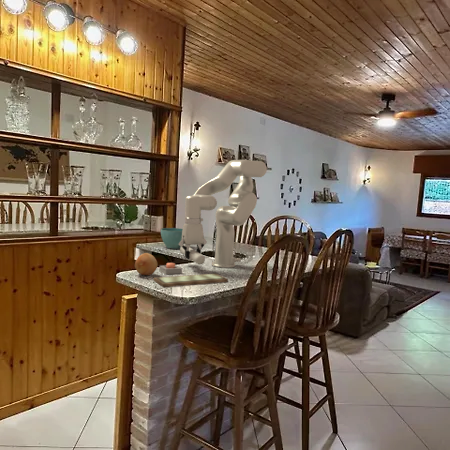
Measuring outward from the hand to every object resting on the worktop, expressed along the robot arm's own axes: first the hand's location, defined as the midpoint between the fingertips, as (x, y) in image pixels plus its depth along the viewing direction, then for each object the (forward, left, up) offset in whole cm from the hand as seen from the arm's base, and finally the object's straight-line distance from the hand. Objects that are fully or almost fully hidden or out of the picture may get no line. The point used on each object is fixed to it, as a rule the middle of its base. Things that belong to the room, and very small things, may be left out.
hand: (192, 257), depth 186 cm
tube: (0, 0, -1) cm, 1 cm away
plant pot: (-17, -63, -6) cm, 65 cm away
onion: (+25, +5, -6) cm, 27 cm away
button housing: (+12, +2, -6) cm, 14 cm away
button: (+12, +2, -5) cm, 14 cm away
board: (+10, +21, -6) cm, 24 cm away
